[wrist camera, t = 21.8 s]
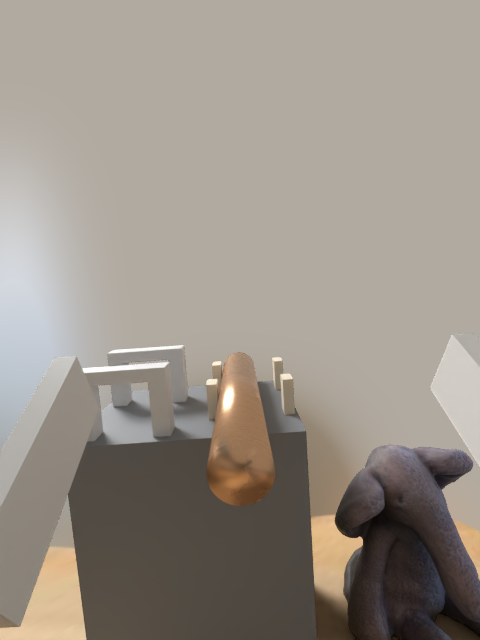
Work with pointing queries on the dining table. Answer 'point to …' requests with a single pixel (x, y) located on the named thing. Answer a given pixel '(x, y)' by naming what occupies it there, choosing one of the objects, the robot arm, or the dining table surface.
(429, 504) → the elephant
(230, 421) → the copper tube
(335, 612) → the dining table surface
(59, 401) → the robot arm
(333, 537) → the dining table surface
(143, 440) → the grey pedestal with pegs
